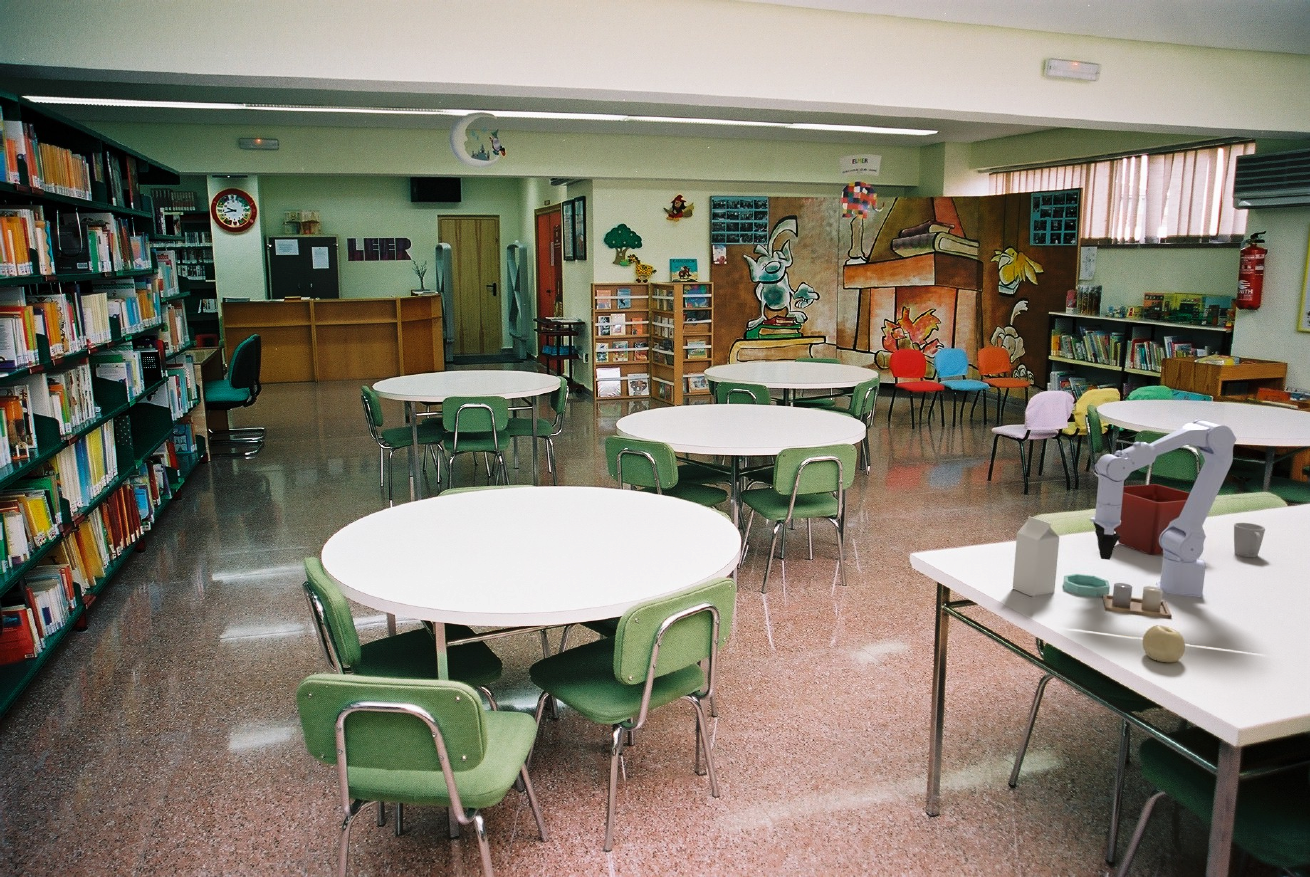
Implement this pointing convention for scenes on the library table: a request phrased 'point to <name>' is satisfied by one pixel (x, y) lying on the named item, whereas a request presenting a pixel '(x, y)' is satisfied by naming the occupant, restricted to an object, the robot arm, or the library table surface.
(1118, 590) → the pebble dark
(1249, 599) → the library table surface
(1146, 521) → the plant pot
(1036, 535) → the milk carton
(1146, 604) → the pebble light
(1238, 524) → the cup
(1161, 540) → the robot arm
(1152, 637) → the apple
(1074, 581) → the dish
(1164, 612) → the tray
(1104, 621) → the library table surface
